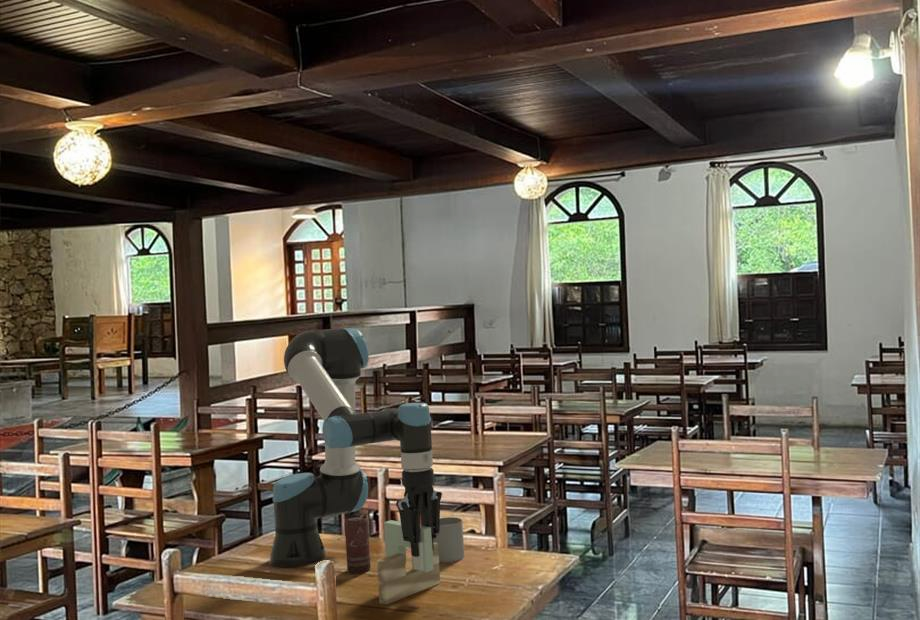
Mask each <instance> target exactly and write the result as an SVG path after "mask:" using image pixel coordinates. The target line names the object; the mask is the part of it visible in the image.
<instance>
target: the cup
mask: <svg viewBox="0 0 920 620" xmlns="http://www.w3.org/2000/svg"><path fill="white" fill-rule="evenodd" d="M434 528H435V527H434ZM435 535H437V537H436V538H435V539H434V538H433V542H435V543H438V554H439V563H452V562H453V563H454V562H458V561H461V560H463V559H464V558H465V546H464V528H463V519H462V518H460V517H451V516H450V517H440V531H439V533H438V534H437V533H436V534H435Z"/></svg>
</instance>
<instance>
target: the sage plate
mask: <svg viewBox="0 0 920 620" xmlns="http://www.w3.org/2000/svg"><path fill="white" fill-rule="evenodd" d="M383 530H384V531H383V532H384V547H385V548H384V549H385V557H388V556H391V555H394V554H397V553H400V554H405V565H407V562H408V561H407V551H406V550H407V549H406V548H409V549H411V543H410V542H408V541H404V540H403V534H402V527H401V521H398V520H392V519H390V520H387V521H383ZM419 542H422V544H423V560H424V570H422V571H423V572H428V571H431V570H434V568H433V552H432V536H431V527H426V526H422V525H420V541H419ZM411 562H412V563H411V567H412V568H411V569H414V563H413V556H412V555H411ZM414 570H417V569H414ZM419 571H421V570H419Z"/></svg>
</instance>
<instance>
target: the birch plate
mask: <svg viewBox="0 0 920 620" xmlns="http://www.w3.org/2000/svg"><path fill="white" fill-rule="evenodd" d="M376 564H377V565H376V566H377V567H376V568H377V582H378V599H379V603H380V604H383V605H389V604H391V603H395V602H397V601H399V600H402V599H405V598H407V597H409V596H411V595H414V594H416V593H419V592H422V591H425V590H427V589H430V588H431V587H434V586H438V585H439V584H441V573H440V562H439V554H438V543H435V542H434V550H433V568H434V570H431V571H428V572H423V571H419V570H414V569H412V568H411V569H409V570H407V569H406V564H405V554H400V553H397V554H394V555H391V556H388V557H386V556H385V557H382V558H380V559H377V560H376Z"/></svg>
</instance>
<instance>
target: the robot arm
mask: <svg viewBox="0 0 920 620" xmlns="http://www.w3.org/2000/svg"><path fill="white" fill-rule="evenodd" d="M369 359H370V358H369V347H368V344H367V341H366V338H365V337H364V335H363V334H362V332H361V331H360V330H359V329H356V328H352V327H351V328H349V327H347V328H346V327H342V328H330V329H329V328H328V329H318V330H306V331H303V332H300V333H299V334H297V335H295V336H294V337H293V338H292V339H291V340H290V341H289V343H288V344H287V346H286V348H285V351H284V354H283V364H284V365H283V366H284V368H285V371H286V373H287V374H288V376H289V378H290V379H291V380H293V381H294V382H298V384H299V385H300V387H301V388H302V390H303V392H304V393H305V395H306V396H307V398H308V400H310V402H311V404H312V405H313V407H314V408H315V410H316V412H317V413H318V414H319V416H320V417H321V419H322V421H323V423H322V429H321V430H322V431H321V432H322V437H323V442H324V459H325V461H324V463H323V464H322V465H321V466H320V467H319V476H315V475H314V474H313V473H312V472H301V473H294V474H291V475H287V476H283V477H282V478H280V479H278V480H276V482H275V483H274V484H273V487H272V502H273V514H274V515H273V517H274V531H275V532H274V533H275V535H274V539H273V544H272V548H271V552H270V554H269V555H270V564H271V565H273V566H276V567H279V568H280V567H281V568H296V567H304V566H309V565H314V564H316V563H319V562H321V561H322V560H324V559H325V557H326V549H325V546H324V544H323V541H322V537H321V535H320V533H319V530H318V519H323V518H327V517H333V516H339V515H344V514H346V515H347V514H351V513H352V512H357V511H360V510H361V509H362V508H363V507H364V506H365V505H366V502H367V499H368V494H369V482H368V478H367V475H366V473H365V472H364V471H363V470H361V466H360V465H359V464H358V463H357V462H356V446H364V445H370V444H376V443H383V442H385V443H386V442H391V441H398V442H399V447H400V461H401V463H400V464H401V468H402V469H403V470H402V471H401V477H402V478H401V479H402V480H401V481H402V482H401V483H402V486H403V487H404V492H403V493H404V494H403V498H402V499H401V500H397V501H396V503H395V506H396V508H397V510H398V513H399V518H400V521H399V522H401V527H402V534H403V540H404V541H408V542H410V543H411V548H410V554H411V557H412V556H413V563H414V569H417V570H421V571H422V570H424V560H423V544H422V542H419V541H420V526H426V527H431V536H432V552H433V550H434V542H433V538H434V539H435V538H436V537H437V535H435V534H436V533H437V534H438V533H439V531H440V518H441V500H442V497H443V496H442V495H443V493H442V491H436V490H434V487H433V485H434V484H435V475H434V473H435V471H434V469H433V468H432V467H433V466H434V460H433V457H434V456H433V447H432V446H433V444H432V443H433V442H432V440H433V439H432V423H431V421H432V418H431V413H430V407H429V405H428V403H425V402H409V403H403V404H400V405H399V406H398V408H396V407H392V408H391V407H389V408H383V409H382V410H379V411H372V412H371V411H370V412H364V413H356V382H357V380H359V378H361V374H362V373H361V370H362V369H365V368H366V367H367V366H368V363H369ZM421 524H422V525H421ZM434 527H435V528H434ZM318 561H319V562H318Z"/></svg>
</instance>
